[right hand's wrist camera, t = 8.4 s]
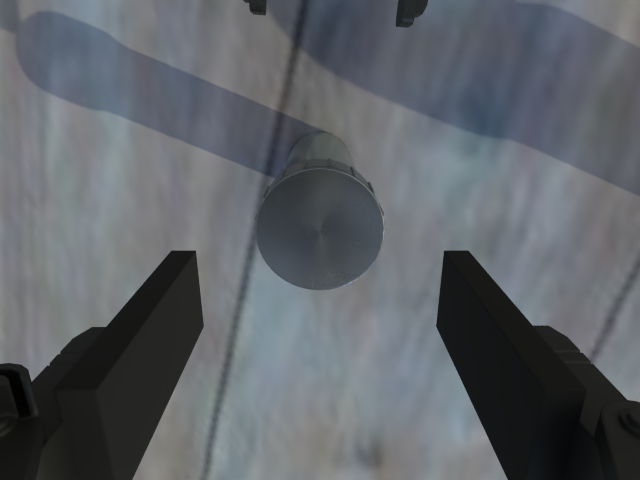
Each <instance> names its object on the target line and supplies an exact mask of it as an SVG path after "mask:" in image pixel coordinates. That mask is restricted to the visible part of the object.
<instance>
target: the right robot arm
mask: <svg viewBox="0 0 640 480" xmlns="http://www.w3.org/2000/svg"><path fill="white" fill-rule="evenodd" d="M203 327H204V324H203V315H202V305H201V296H200V286H199V277H198V267H197V258H196V251H171V252H170V253H169V254H168V256H167V257H166V258H165V259H164V260H163V261H162V263H161V264H160V265H159V266H158V267H157V268H156V270H155V271H154V272H153V273H152V274H151V275H150V277H149V278H148V279H147V280H146V281H145V282H144V284H143V285H142V286H141V287H140V288H139V289H138V291H137V292H136V293H135V294H134V295H133V296H132V298H131V299H130V300H129V301H128V302H127V303H126V305H125V306H124V307H123V308H122V309H121V310H120V312H119V313H118V314H117V315H116V316H115V317H114V319H113V320H112V321H111V322H110V323H109V324H108V326H107V327H91V328H90V329H88V330H86V331H85V332H83V333H81V334H80V335H78V336H76V337H75V338H73V339H72V340H71V341H70V342H69V343H68V344H67V345H66V347H65V348H64V349H63V350H62V351H61V353H60V354H58V355H57V356H56V357H55V358H54V359H53V360H52V361H51V362H50V366H47V367H46V368H45V369H44V370H43V371H42V372H41V373H40V374H39V375H38V376H37V377H36V378H35V379H34V380H33V381H32V382H31V379H30V375H29V371H28V369H26V368H25V367H23V366H22V365H19V364H11V363H6V364H0V480H132V479H133V477H134V475H135V472H136V470H137V468H138V466H139V464H140V462H141V460H142V457H143V455H144V453H145V451H146V449H147V447H148V445H149V442H150V440H151V438H152V436H153V434H154V432H155V430H156V427H157V425H158V423H159V421H160V419H161V417H162V415H163V412H164V410H165V408H166V406H167V404H168V402H169V400H170V397H171V395H172V393H173V391H174V389H175V387H176V385H177V382H178V380H179V378H180V376H181V374H182V372H183V370H184V367H185V365H186V363H187V361H188V359H189V357H190V355H191V353H192V350H193V348H194V346H195V344H196V342H197V340H198V338H199V335H200V333H201V331H202V329H203ZM436 327H437V329H438V331H439V333H440V335H441V338H442V340H443V342H444V344H445V346H446V348H447V350H448V353H449V355H450V357H451V359H452V361H453V363H454V365H455V367H456V370H457V372H458V374H459V376H460V378H461V380H462V382H463V385H464V387H465V389H466V391H467V393H468V395H469V397H470V400H471V402H472V404H473V406H474V408H475V410H476V412H477V415H478V417H479V419H480V421H481V423H482V425H483V427H484V430H485V432H486V434H487V436H488V438H489V440H490V442H491V445H492V447H493V449H494V451H495V453H496V455H497V457H498V460H499V462H500V464H501V466H502V468H503V470H504V472H505V475H506V477H507V479H508V480H640V402H636V401H629V400H627V399H626V398H625V397H624V396H623V395H622V394H621V393H620V392H619V391H618V390H617V389H616V388H615V387H614V386H613V385H612V383H611V382H610V381H609V380H608V379H607V378H606V377H605V376H604V375H603V374H602V373H601V372H600V371H599V370H598V369H597V368H596V367H595V366H594V365H593V364H591V363H590V360H589V359H588V358H587V357H586V356H585V355H584V354H583V353H580V350H579V349H578V348H577V347H576V346H575V345H574V344H573V343H572V341H571V340H570V339H569V338H568V337H566V336H565V335H563V334H561V333H560V332H558V331H556V330H555V329H553V328H551V327H550V326H532V324H531V323H530V322H529V321H528V320H527V319H526V317H525V316H524V315H523V314H522V313H521V312H520V310H519V309H518V308H517V307H516V306H515V305H514V303H513V302H512V301H511V300H510V299H509V298H508V296H507V295H506V294H505V293H504V292H503V291H502V289H501V288H500V287H499V286H498V285H497V284H496V282H495V281H494V280H493V279H492V278H491V277H490V275H489V274H488V273H487V272H486V271H485V270H484V268H483V267H482V266H481V265H480V264H479V263H478V261H477V260H476V259H475V258H474V257H473V256H472V254H471V253H470V252H469V251H444V257H443V267H442V277H441V286H440V296H439V305H438V315H437V324H436Z"/></svg>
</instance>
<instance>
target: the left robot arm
mask: <svg viewBox="0 0 640 480" xmlns="http://www.w3.org/2000/svg"><path fill="white" fill-rule="evenodd" d="M244 1H245V3H249V5H250V11H251V12H252V13H253V14H255V15H266V0H244ZM427 3H428V0H398V8H397V17H396V27H410V26H411V25H412V24H413V21H414V17H418V16H420V15H422V14H423V12H424V10H425V8H426V6H427Z"/></svg>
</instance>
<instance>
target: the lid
mask: <svg viewBox="0 0 640 480" xmlns="http://www.w3.org/2000/svg"><path fill="white" fill-rule="evenodd" d="M263 197H264V199H263V201H262V203H261V205H260V208H259V210H258V214H257V216H256V218H255V220H256V226H255V229H256V240H257V244H258V247H259V250H260V252H261V255H262V257H263V258H264V260H265V262H266V263H267V264H268V266H269V267H270V268H271V269H272V270H273V271H274V272H275V273H276V274H277V275H278V276H280V277H281V278H282V279H284V280H285V281H287V282H289V283H291V284H293V285H296V286H298V287H302V288H305V289H312V290H328V289H334V288H339V287H342V286H344V285H347V284H349V283H351V282H353V281H355V280H356V279H358V278H359V277H361V276H362V275H363V274H364V273H365V272H366V271H367V270H368V269H369V268H370V267H371V266H372V264H373V263H374V262H375V260H376V258H377V257H378V255H379V253H380V250H381V247H382V244H383V240H384V231H385V228H384V218H383V215H384V213H383V211H382V209H381V207H380V204H379V203H378V201H377V199H376V197H375V194H374V190H373V188H372V186H371V184H370V182H367V181H366V180H365V179H364V177H363V176H362V175H361V174H360V173H358V172H357V171H356V170H355V169H354V167H353V166H351V167H350V166H348V165H346V164H344V163H341V162H338V161H335V160H331V158H329V159H310V160H307V159H304V161H302V162H299V163H296V164H294V165H292V166H290V167H289V168H287V169H286V170H285V169H283V170H282V172H281V173H280V174H279V175H278V176H277V177H276V178H275V180H274V181H273V182H272V184H271V185H270V187H269V186H268V187H267V189H266V191H265V193H264V195H263Z"/></svg>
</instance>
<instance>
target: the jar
mask: <svg viewBox="0 0 640 480" xmlns="http://www.w3.org/2000/svg"><path fill="white" fill-rule="evenodd" d="M329 158H331V160H335V161H338V162H341V163H344V164H346V165H348V166H350V167H351V166H353V167H354V169H355V170H356V168H355V165H354V163H353V160H352V158H351V155H350V153H349V150H348V148H347V147H346V145H345V144H344V143H343V142H342V141H341V140H340V139H339V138H338V137H336V136H334V135H332V134H329V133H325V132H314V133H310V134H308V135H306V136H304V137H302V138H301V139H300V140H299V141H298V142H297V143H296V144H295V145H294V147H293V148H292V150H291V153H290V155H289V158H288V160H287V163H286V165H285V168H284V169H285V170H286V169H287V168H289V167H290V166H292V165H294V164H296V163H299V162H302V161H304V159H307V160H310V159H329ZM356 171H357V170H356Z"/></svg>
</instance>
